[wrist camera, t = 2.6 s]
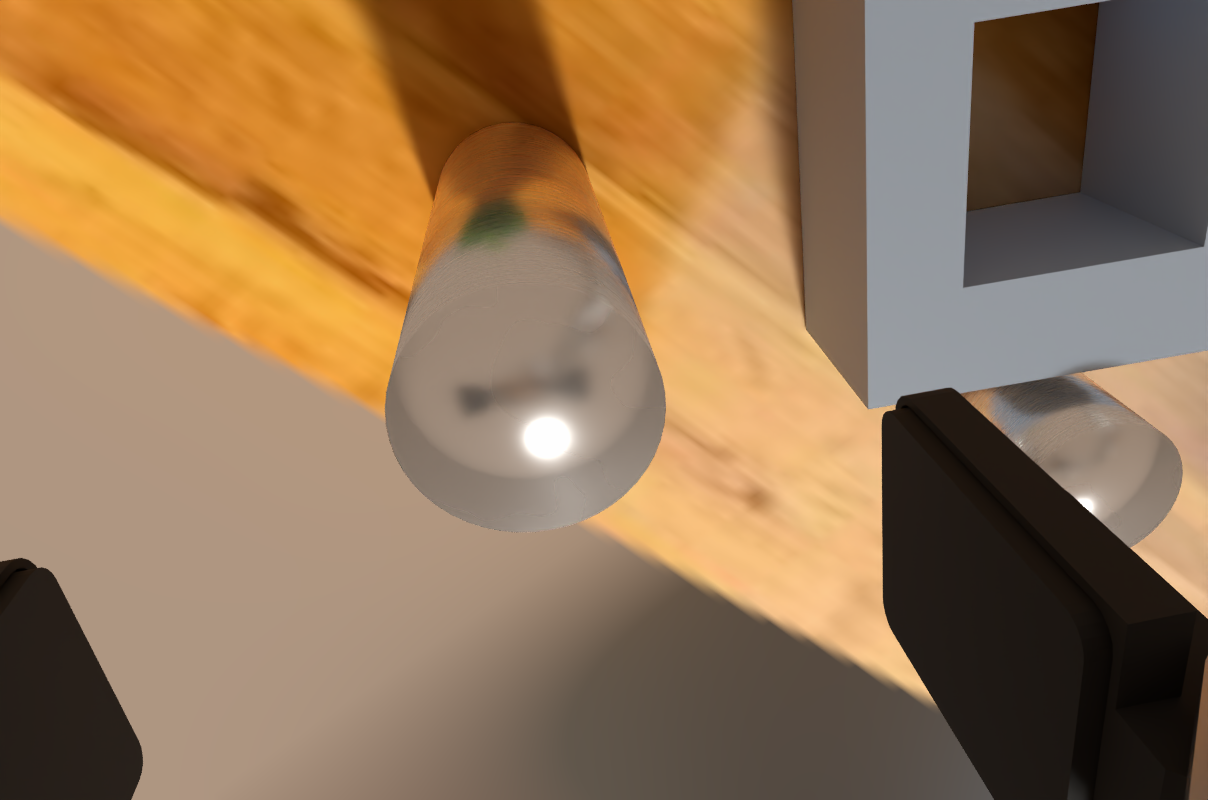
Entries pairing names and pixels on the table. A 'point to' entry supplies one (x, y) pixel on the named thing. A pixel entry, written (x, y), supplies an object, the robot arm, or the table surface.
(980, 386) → the hole block
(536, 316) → the long pin
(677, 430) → the table surface
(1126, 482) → the short pin
